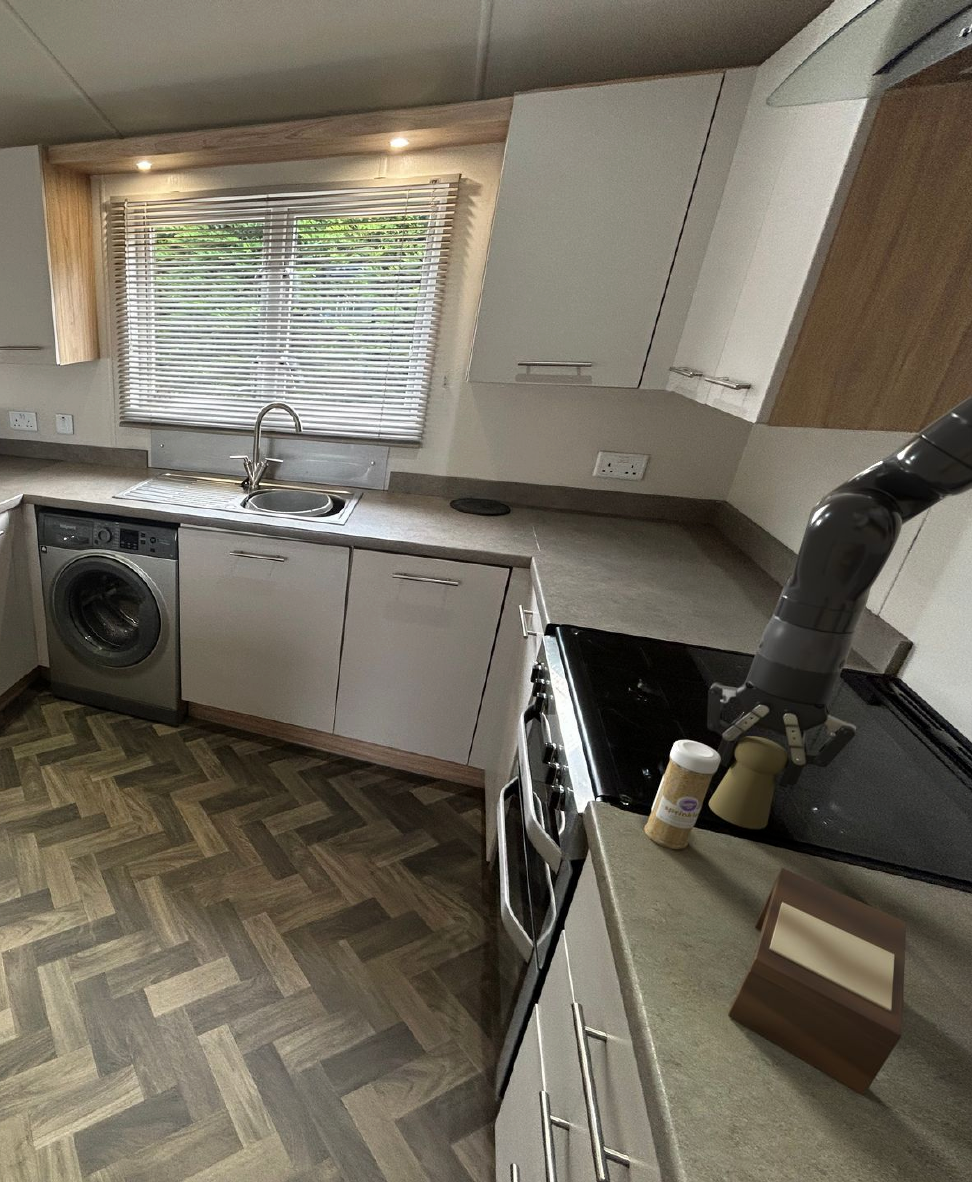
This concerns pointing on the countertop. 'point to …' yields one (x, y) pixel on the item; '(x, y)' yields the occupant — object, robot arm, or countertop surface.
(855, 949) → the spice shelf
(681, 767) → the sprinkles bottle
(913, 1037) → the countertop surface
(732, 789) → the cork
